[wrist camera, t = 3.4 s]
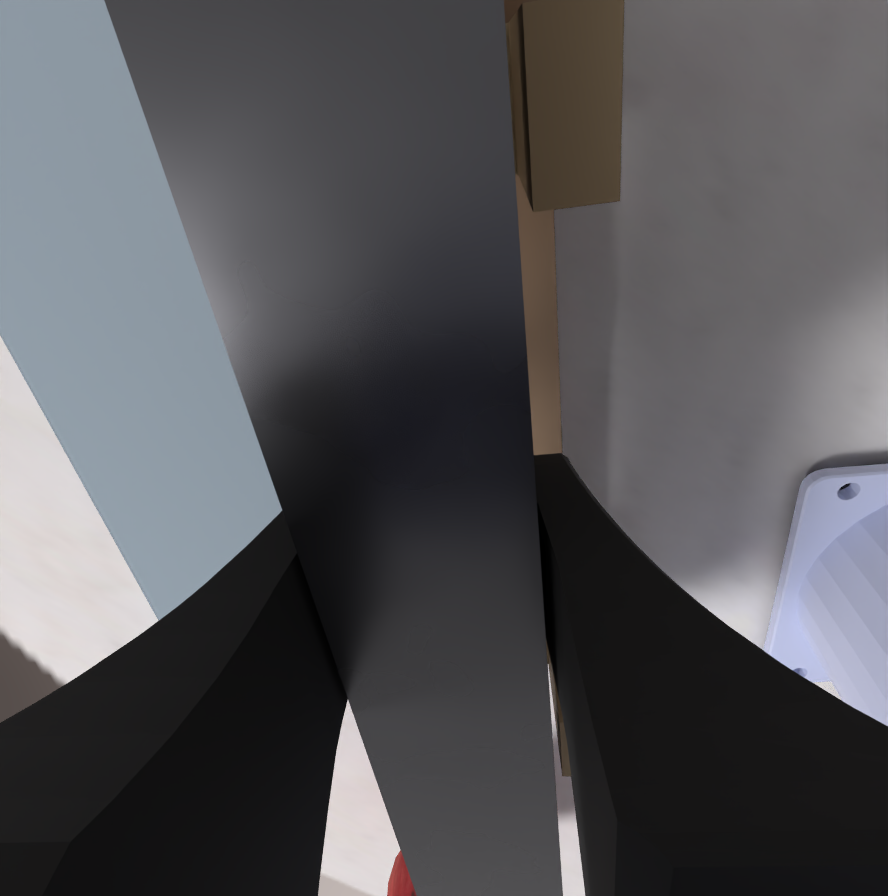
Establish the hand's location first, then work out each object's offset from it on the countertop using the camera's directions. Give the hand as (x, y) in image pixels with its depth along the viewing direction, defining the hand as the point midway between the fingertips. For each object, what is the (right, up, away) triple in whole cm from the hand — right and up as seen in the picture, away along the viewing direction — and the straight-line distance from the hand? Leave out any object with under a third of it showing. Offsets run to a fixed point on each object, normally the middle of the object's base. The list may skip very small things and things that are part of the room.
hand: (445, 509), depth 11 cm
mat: (-6, +2, +5) cm, 8 cm away
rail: (0, 0, 0) cm, 0 cm away
